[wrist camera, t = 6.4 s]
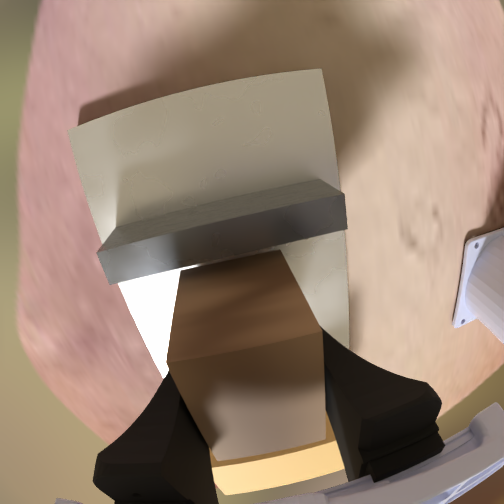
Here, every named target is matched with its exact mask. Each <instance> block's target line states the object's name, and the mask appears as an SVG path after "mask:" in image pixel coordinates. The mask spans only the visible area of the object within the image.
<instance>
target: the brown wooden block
mask: <svg viewBox="0 0 504 504" xmlns="http://www.w3.org/2000/svg"><path fill="white" fill-rule="evenodd" d="M165 363H166V365H167V367H168V369H169V371H170V374H171V376H172V378H173V380H174V382H175V384H176V386H177V388H178V390H179V392H180V394H181V396H182V398H183V400H184V402H185V404H186V406H187V408H188V410H189V411H190V413H191V415H192V417H193V419H194V421H195V423H196V425H197V426H198V428H199V430H200V432H201V434H202V435H203V437H204V439H205V441H206V442H207V444H208V446H209V448H210V449H211V451H212V453H213V455H214V456H215V458H216V460H217V461H222V460H230V459H237V458H243V457H249V456H255V455H260V454H266V453H271V452H276V451H280V450H285V449H289V448H294V447H298V446H302V445H306V444H310V443H314V442H317V441H321V440H325V439H326V413H325V376H324V353H323V334H322V329H321V327H320V325H319V323H318V321H317V319H316V318H315V316H314V314H313V312H312V310H311V308H310V306H309V304H308V302H307V300H306V298H305V296H304V294H303V292H302V290H301V288H300V286H299V284H298V282H297V280H296V279H295V277H294V275H293V273H292V271H291V269H290V267H289V265H288V263H287V261H286V259H285V257H284V256H283V254H282V252H281V250H280V249H279V250H274V251H269V252H265V253H260V254H255V255H250V256H246V257H241V258H236V259H231V260H227V261H222V262H217V263H212V264H208V265H203V266H198V267H193V268H189V269H184V270H180V275H179V281H178V286H177V292H176V298H175V304H174V310H173V316H172V322H171V328H170V335H169V341H168V348H167V355H166V362H165Z"/></svg>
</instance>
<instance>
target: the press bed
mask: <svg viewBox="0 0 504 504" xmlns="http://www.w3.org/2000/svg"><path fill="white" fill-rule="evenodd" d="M67 131H68V135H69V139H70V143H71V147H72V151H73V154H74V158H75V162H76V165H77V169H78V172H79V176H80V179H81V182H82V186H83V189H84V192H85V195H86V198H87V202H88V205H89V208H90V211H91V214H92V217H93V219H94V222H95V225H96V228H97V231H98V234H99V236H100V239H101V242H102V244H103V245H102V246H101V247H100V249H99V250H98V251H97V255H98V258H99V260H100V263H101V265H102V267H103V270H104V272H105V275H106V277H107V279H108V282H109V284H110V285H111V284H116V283H118V284H119V287H120V289H121V291H122V294H123V296H124V298H125V300H126V303H127V305H128V307H129V309H130V311H131V314H132V316H133V318H134V320H135V322H136V324H137V326H138V328H139V331H140V333H141V335H142V337H143V339H144V341H145V343H146V345H147V347H148V349H149V351H150V353H151V355H152V356H153V358H154V360H155V362H156V364H157V366H158V368H159V370H160V372H161V373H162V375H163V377H165V376H166V374H167V372H168V370H169V369H168V367H167V365H166V363H165V362H166V355H167V348H168V341H169V335H170V328H171V322H172V316H173V310H174V304H175V298H176V292H177V286H178V281H179V275H180V270H184V269H189V268H193V267H198V266H203V265H208V264H212V263H217V262H222V261H227V260H231V259H236V258H241V257H246V256H250V255H255V254H260V253H265V252H269V251H274V250H279V249H280V250H281V252H282V254H283V256H284V257H285V259H286V261H287V263H288V265H289V267H290V269H291V271H292V273H293V275H294V277H295V279H296V280H297V282H298V284H299V286H300V288H301V290H302V292H303V294H304V296H305V298H306V300H307V302H308V304H309V306H310V308H311V310H312V312H313V314H314V316H315V318H316V319H317V321H318V323H319V325H320V326H321V327H322V328H323V329H324V330H325V331H326V332H328V333H329V334H330V335H331V336H332V337H333V338H335V339H336V340H337V341H338V342H340V343H341V344H342V345H343V346H345V347H346V348H348V349H349V301H348V278H347V260H346V245H345V232H344V230H346V229H348V228H347V216H346V205H345V195H344V193H342V192H341V190H340V182H339V173H338V165H337V158H336V150H335V143H334V136H333V130H332V123H331V117H330V111H329V105H328V100H327V94H326V89H325V83H324V78H323V73H322V68H320V69H309V70H299V71H290V72H282V73H275V74H268V75H261V76H255V77H249V78H243V79H237V80H232V81H227V82H222V83H217V84H213V85H208V86H204V87H199V88H195V89H191V90H187V91H183V92H179V93H175V94H171V95H168V96H164V97H161V98H157V99H154V100H150V101H147V102H144V103H141V104H137V105H134V106H131V107H128V108H125V109H122V110H119V111H116V112H114V113H111V114H108V115H105V116H103V117H100V118H97V119H95V120H92V121H89V122H87V123H84V124H82V125H79V126H77V127H74V128H72V129H70V130H67Z"/></svg>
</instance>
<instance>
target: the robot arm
mask: <svg viewBox="0 0 504 504" xmlns="http://www.w3.org/2000/svg"><path fill="white" fill-rule="evenodd" d="M475 319H478V320H479V321H481V322H482V323H483V324H484V325H485V326H486V327H487V328H488V329H489V330H490V331H491V332H492V333H493V334H494V335H495V336H496V337H497V338H498V339H499V340H500V341H501V342H502V343H503V344H504V228H501V229H498V230H495V231H492V232H489V233H486V234H483V235H480V236H477V237H474V238H471V239H469V240H468V241H467V242H466V244H465V251H464V259H463V267H462V274H461V281H460V287H459V293H458V298H457V304H456V309H455V314H454V318H453V323H452V325H453V326H454V327H455V328H458V327H460V326H462V325H464V324H467V323H469V322H471V321H473V320H475ZM320 327H321V326H320ZM321 329H322V334H323V353H324V376H325V410H326V413H327V415H328V418H329V421H330V424H331V426H332V429H333V432H334V435H335V439H336V442H337V445H338V448H339V451H340V454H341V458H342V461H343V464H344V468H345V471H346V475H347V478H348V482H347V483H345V484H342V485H338V486H335V487H331V488H328V489H325V490H321V491H318V492H314V493H306V494H300V495H295V496H291V497H286V498H282V499H277V500H272V501H267V502H261V503H256V504H448V503H450V502H451V501H453V500H455V499H456V498H458V497H459V496H461V495H462V494H464V493H465V492H467V491H468V490H470V489H471V488H473V487H474V486H476V485H477V484H479V483H480V482H482V481H483V480H484V479H486V478H487V477H488V476H490V475H491V474H493V473H494V472H496V471H497V470H498V469H500V468H501V467H502V466H503V465H504V411H503V409H502V408H501V407H500V405H499V404H498V403H497V402H495V403H493V404H492V405H490V406H489V407H487V408H486V409H484V410H483V411H481V412H480V413H478V414H477V415H476V416H475V417H474V418H473V419H472V421H471V422H470V425H469V427H467V428H466V429H464V430H462V431H460V432H459V433H457V434H455V435H454V436H452V437H450V438H448V439H446V440H444V441H443V440H442V439H441V437H440V435H439V434H438V431H439V427H438V426H437V424H436V422H435V421H436V419H437V416H438V414H439V412H440V409H441V405H442V402H441V399H440V398H439V396H438V395H437V393H436V392H435V391H434V390H433V388H432V387H431V386H430V385H429V384H428V383H426V382H422V381H418V380H414V379H410V378H406V377H403V376H400V375H397V374H394V373H391V372H389V371H387V370H384V369H382V368H380V367H377V366H376V365H374V364H372V363H370V362H368V361H366V360H364V359H363V358H361V357H359V356H358V355H356V354H355V353H353V352H352V351H350V350H349V349H348V348H346V347H345V346H343V345H342V344H341V343H340V342H338V341H337V340H336V339H335V338H333V337H332V336H331V335H330V334H329V333H328V332H326V331H325V330H324V329H323V328H322V327H321ZM93 483H94V484H95V486H96V487H97V488H99V490H101V491H102V492H104V493H105V494H106V495H108V496H109V497H110V498H112V499H113V500H115V504H219V503H218V498H217V494H216V489H215V483H214V478H213V472H212V465H211V458H210V451H209V446H208V444H207V442H206V441H205V439H204V437H203V435H202V434H201V432H200V430H199V428H198V426H197V425H196V423H195V421H194V419H193V417H192V415H191V413H190V411H189V410H188V408H187V406H186V404H185V402H184V400H183V398H182V396H181V394H180V392H179V390H178V388H177V386H176V384H175V382H174V380H173V378H172V376H171V374H170V371H169V370H168V372H167V374H166V376H165V377H164V379H163V381H162V383H161V385H160V386H159V388H158V390H157V392H156V393H155V395H154V397H153V398H152V400H151V401H150V403H149V404H148V405H147V407H146V408H145V410H144V411H143V412H142V413H141V415H140V416H139V417H138V418H137V419H136V420H135V422H134V423H133V424H132V425H131V426H130V427H129V428H128V429H127V430H126V431H125V432H124V433H123V434H122V435H121V436H120V437H119V438H118V439H117V440H115V441H114V442H113V443H112V444H110V445H109V446H108V447H107V448H105V449H104V450H103V451H101V452H100V453H99V454H98V456H97V459H96V464H95V470H94V476H93ZM55 504H82V503H80V502H77V501H73V500H67V499H61V498H56V501H55Z"/></svg>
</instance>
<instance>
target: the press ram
mask: <svg viewBox="0 0 504 504" xmlns="http://www.w3.org/2000/svg"><path fill="white" fill-rule="evenodd" d="M325 413H326V410H325ZM209 451H210V458H211V465H212V472H213V478H214V482H215V483H216V485H217V486H218V487H219V488H220V489H221V491H222V492H223V493H224V494H225V495H231V494H238V493H244V492H250V491H257V490H262V489H267V488H272V487H277V486H282V485H287V484H291V483H295V482H299V481H303V480H307V479H311V478H315V477H318V476H322V475H325V474H329V473H332V472H335V471H338V470H342V469H345V468H344V464H343V461H342V458H341V454H340V451H339V448H338V445H337V442H336V439H335V435H334V432H333V429H332V426H331V424H330V421H329V418H328V415H327V413H326V439H325V440H321V441H317V442H314V443H310V444H306V445H302V446H298V447H294V448H289V449H285V450H280V451H276V452H271V453H266V454H260V455H255V456H249V457H243V458H237V459H230V460H222V461H217V460H216V458H215V456H214V455H213V453H212V451H211V449H210V448H209Z"/></svg>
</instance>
